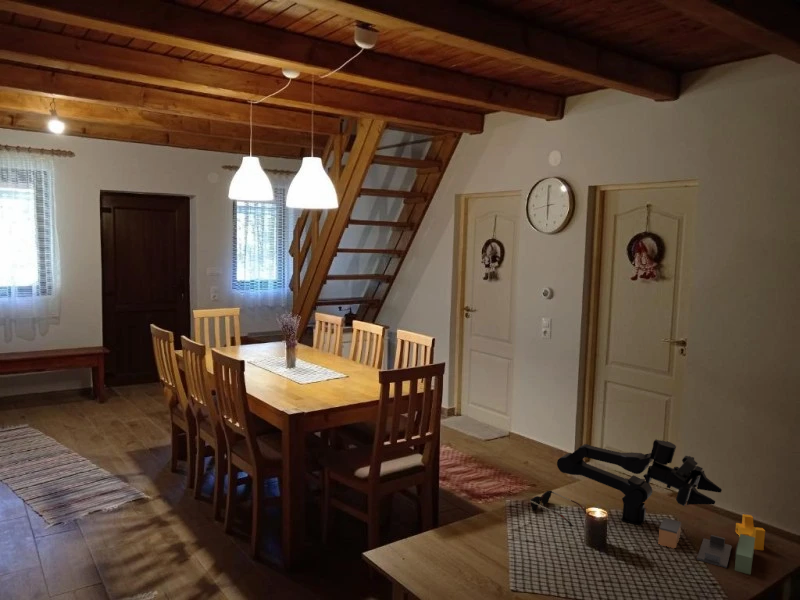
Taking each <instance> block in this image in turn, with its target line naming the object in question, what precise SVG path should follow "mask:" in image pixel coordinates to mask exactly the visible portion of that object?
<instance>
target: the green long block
mask: <svg viewBox="0 0 800 600" xmlns="http://www.w3.org/2000/svg"><path fill="white" fill-rule="evenodd" d="M738 538H739V539H738V542H737V544H736V547H735V553H734V554H735V555H734V560H735V562H734V564H735V565H734V571H735V572H738V573H742V574H746V575H750V576H751V573H752V567H753V566H752V565H753V559H754V551H755V549H754V544H755V537H751V536H747V535H743V534H740V537H738Z"/></svg>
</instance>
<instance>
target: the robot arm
mask: <svg viewBox="0 0 800 600" xmlns="http://www.w3.org/2000/svg"><path fill="white" fill-rule="evenodd" d="M676 448H677V445H676V444H674V443H672V442H671V441H667V440H666V441H665V440H661V439H660V440H659V439H656V438H655V439H654V440H653V443H652V449H651V452H649V453H646V454H645V453H642V452H632V451H631V452H621V451H616V450H611V449H607V448H601V447H598V446H594V445H590V444H588V443H584V444H582V445H581V446H579V447H578V448H577V449H575V451H573V452H569V453H566V454H564V455H562V456H561V457H559V458H558V459H557V461H556V466H557V469H558V470H559V472H561V473H563V474H567V475H572V476H573V475H574V476H583V477H584V478H587V479H589V480H592V481H595V482H597V483H600V484H602V485H605V486H608V487H610V488H613V489H615V490H618V491H619V492H621V493H622V494H623V495H624V496H622V498H621V499H622V502H623V507H622V517H621V519H620V521H621V522H625V523H629V524H633V525H637V526H642V525H643V524H644V522H645V521H646V516H647V515H646V511H647V508H646V507H645V502H646V501H647V500H648V499H649V498H650V497H651V496H652V493H653V489H652V486H651V483H650V482H652V480H654V481H658V482H659V483H662V484H664V485H666V488H667V489H671V487H672V488H673V489H676V490H678V492H677V495H676V497H675V499H676V502H677V505H681V506H683V507H685V506H686V505H687V506H690V505H715V504H716V500H715V499H712V498H711V497H710V496H708V495H705V494H703V493H701V492H699V491H698V490H702V491H707V492H712V493H713V492H715V493H722V490H723V489H722V488H721V487H720V486H718V485H717V484H715V483H714V482H712V480H710V479H709V478H708V477H707V475H706V473H705V470H704V468H703V467H702V466H701V467H700V466H699V465H698V464H699V463H698V462H697V461H696V460H695V457H693V456H690V455H685V456H684V457H683V458H682V459H681V461H682V464H681V465H680V467H679V466H674V467H673V468H672V467H670V466H668V464H672V463H673V462H672V461H673V459H674V456H675V452H676ZM585 458H587V459H591V460H595V461H598V462H599V461H600V462H603V463H608V464H612V465H616V466H619V467H621V468H622V469H624V470H625V471H628V472H630V473H632V474H633V475H632V476H630V478H625V477H623V476H620V475H617V474H614V473H613V472H610V471H606V470H604V469H602V468H599V467H596V466H594V465H591V464H589V463H587V462H585V460H584V459H585ZM652 461H653V462H652ZM651 462H652V465H650V464H651ZM646 470H647V471H646ZM645 471H646V473H644V474H643V478H641V477H638V476H637V475H640V474H642V473H643V472H645Z"/></svg>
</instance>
